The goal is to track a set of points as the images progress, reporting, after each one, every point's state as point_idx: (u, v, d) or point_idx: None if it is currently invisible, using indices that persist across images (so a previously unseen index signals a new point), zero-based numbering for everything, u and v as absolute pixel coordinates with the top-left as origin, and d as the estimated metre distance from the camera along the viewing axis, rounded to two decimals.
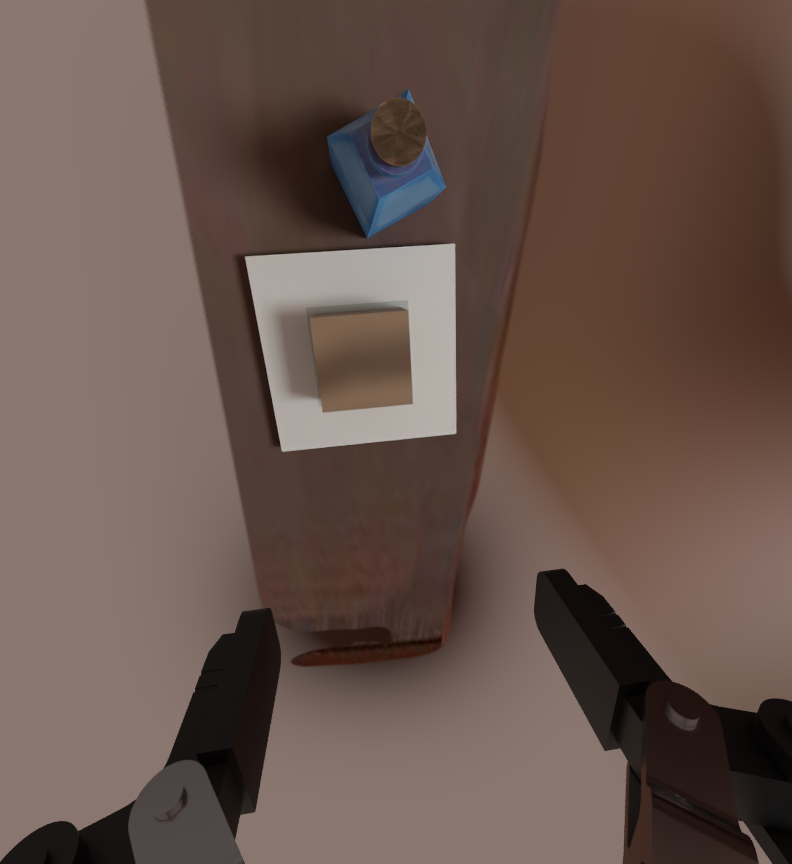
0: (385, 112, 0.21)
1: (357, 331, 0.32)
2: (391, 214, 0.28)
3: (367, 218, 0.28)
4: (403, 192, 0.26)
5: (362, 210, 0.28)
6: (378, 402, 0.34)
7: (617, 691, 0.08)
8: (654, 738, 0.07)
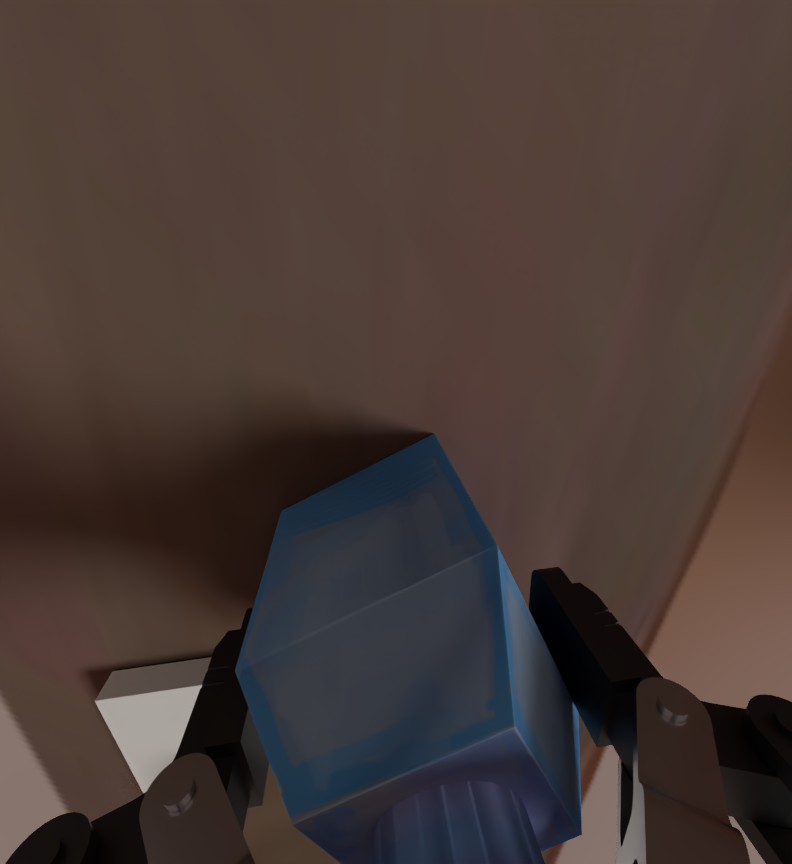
0: None
1: None
2: None
3: None
4: None
5: None
6: None
7: (608, 688, 0.08)
8: (644, 734, 0.07)
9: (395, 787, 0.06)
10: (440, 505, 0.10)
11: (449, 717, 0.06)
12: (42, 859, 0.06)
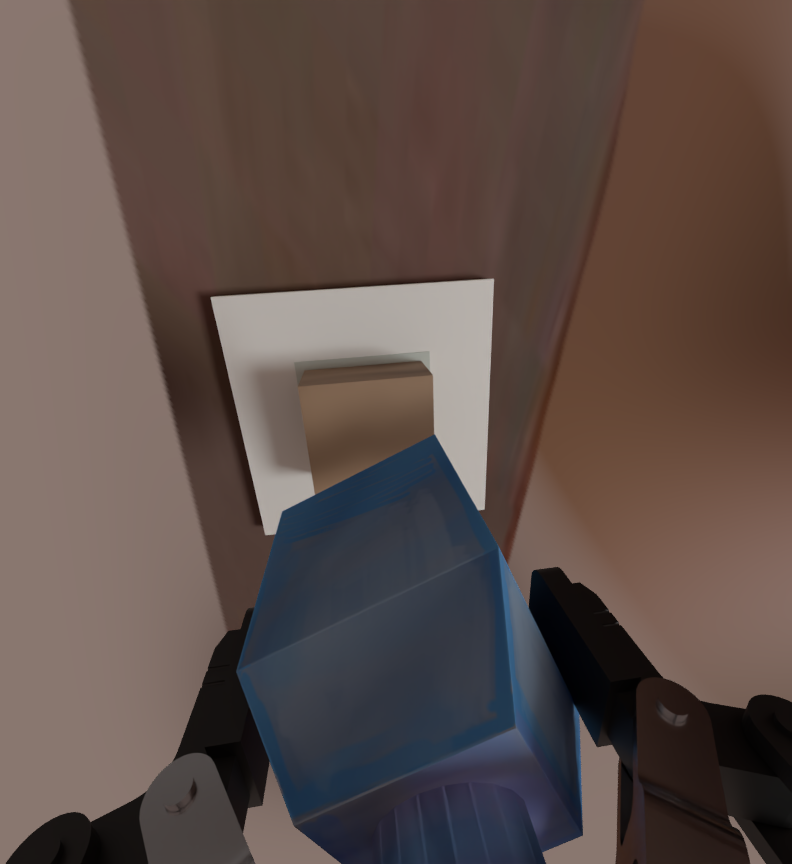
0: None
1: (364, 402, 0.23)
2: None
3: None
4: None
5: None
6: None
7: (608, 688, 0.08)
8: (644, 734, 0.07)
9: (396, 789, 0.06)
10: (441, 506, 0.10)
11: (451, 718, 0.06)
12: (42, 858, 0.06)
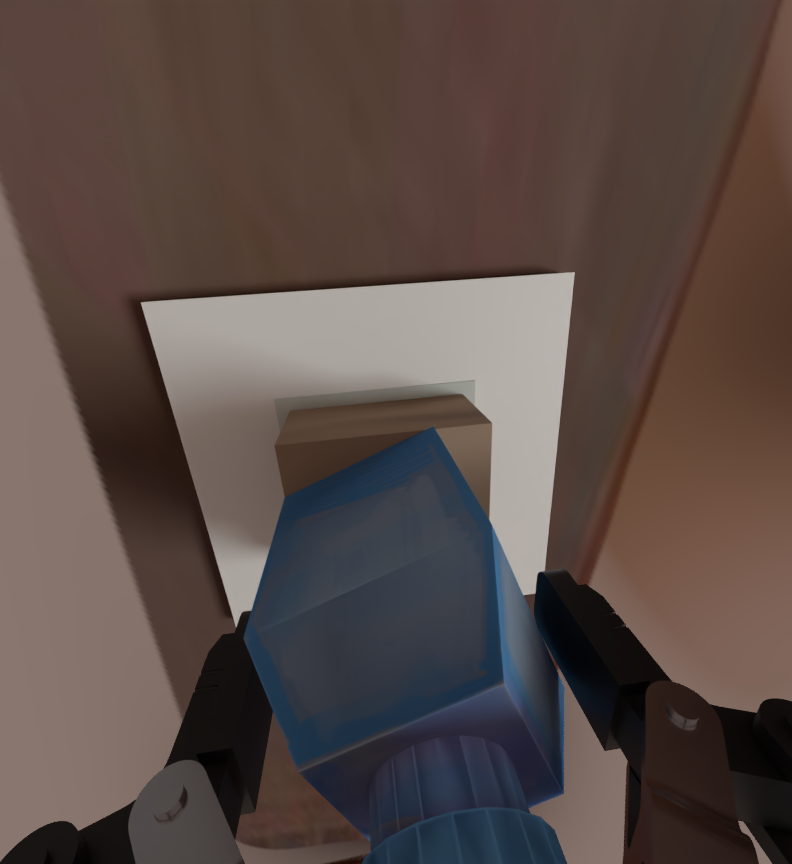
0: None
1: None
2: None
3: None
4: None
5: None
6: None
7: (617, 691, 0.08)
8: (654, 738, 0.07)
9: (393, 739, 0.07)
10: (438, 490, 0.10)
11: (445, 675, 0.07)
12: None
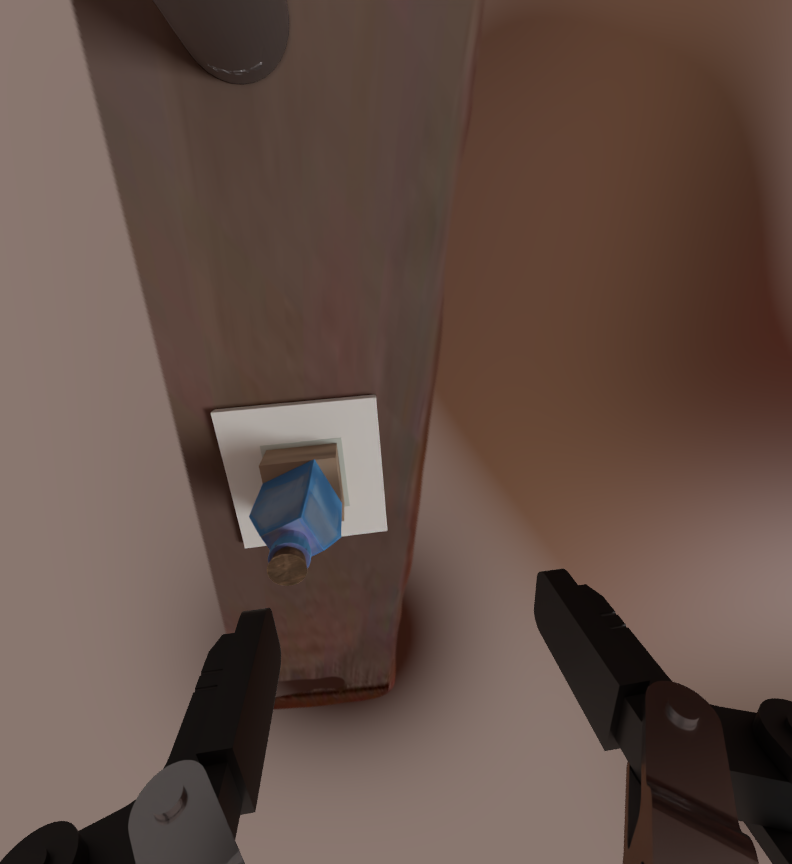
0: (276, 561, 0.30)
1: None
2: None
3: None
4: None
5: None
6: None
7: (617, 691, 0.08)
8: (654, 738, 0.07)
9: (279, 530, 0.33)
10: (303, 480, 0.37)
11: (291, 518, 0.33)
12: None
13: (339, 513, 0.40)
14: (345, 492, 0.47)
